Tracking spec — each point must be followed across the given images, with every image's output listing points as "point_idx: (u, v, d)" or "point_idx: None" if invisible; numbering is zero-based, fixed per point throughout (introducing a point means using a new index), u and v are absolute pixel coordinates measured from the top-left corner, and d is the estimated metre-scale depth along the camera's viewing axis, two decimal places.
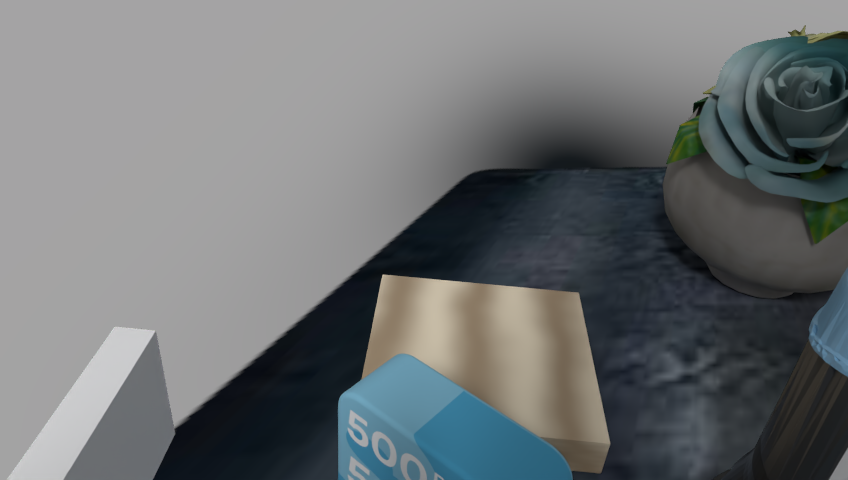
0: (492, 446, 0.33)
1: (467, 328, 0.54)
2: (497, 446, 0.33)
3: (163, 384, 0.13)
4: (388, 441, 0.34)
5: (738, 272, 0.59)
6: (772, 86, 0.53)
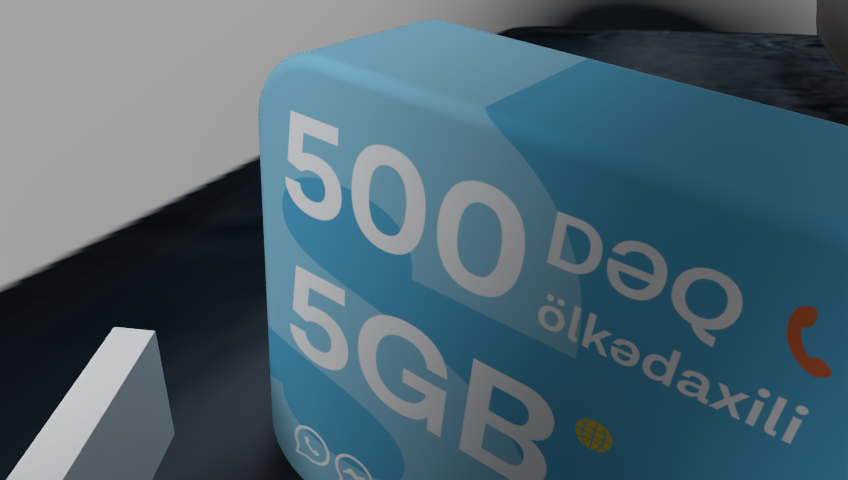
0: (726, 132, 0.11)
1: None
2: (738, 130, 0.11)
3: (163, 384, 0.13)
4: (400, 168, 0.12)
5: None
6: None
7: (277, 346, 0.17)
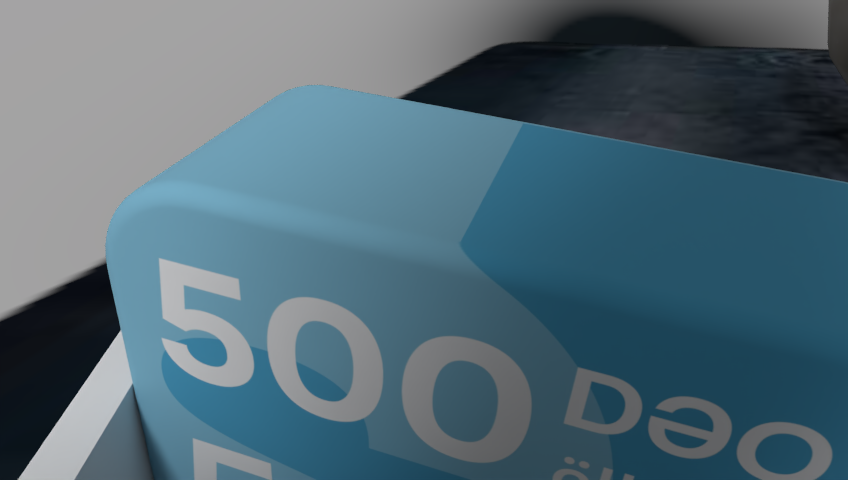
0: (739, 222, 0.09)
1: None
2: (750, 217, 0.09)
3: None
4: (341, 324, 0.09)
5: None
6: None
7: None
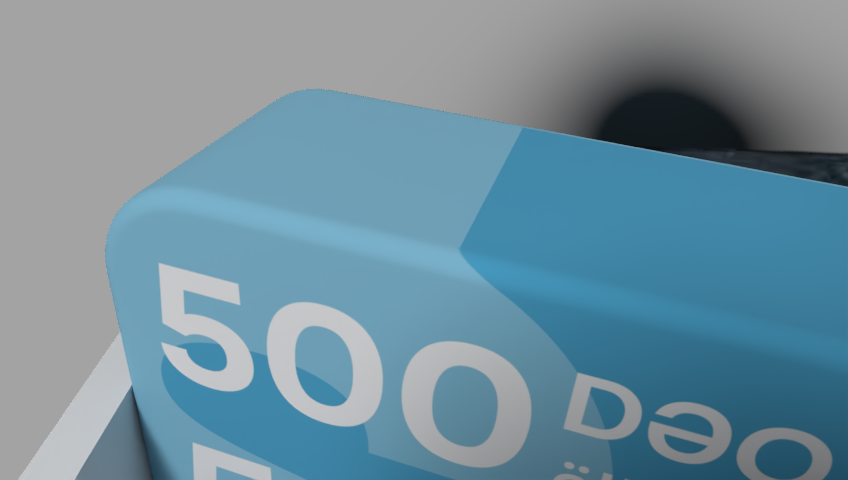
0: (739, 226, 0.09)
1: None
2: (749, 222, 0.09)
3: None
4: (340, 329, 0.09)
5: None
6: None
7: None
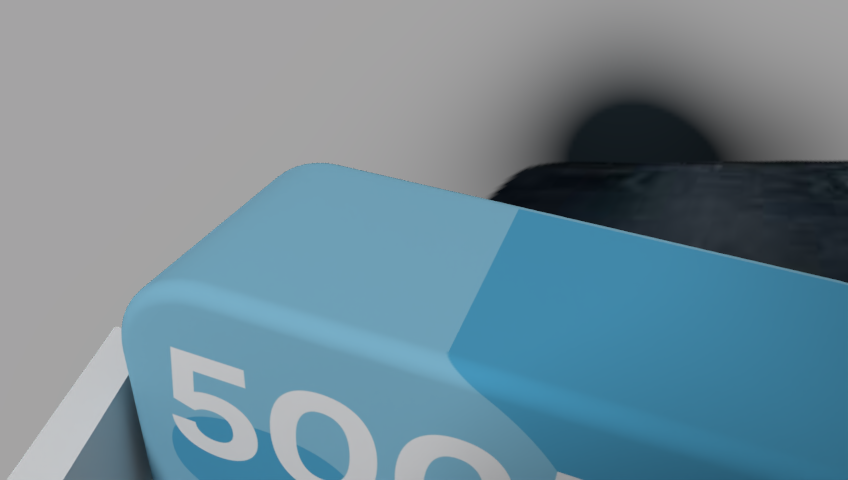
0: (717, 327, 0.09)
1: None
2: (728, 322, 0.09)
3: None
4: (338, 416, 0.09)
5: None
6: None
7: None
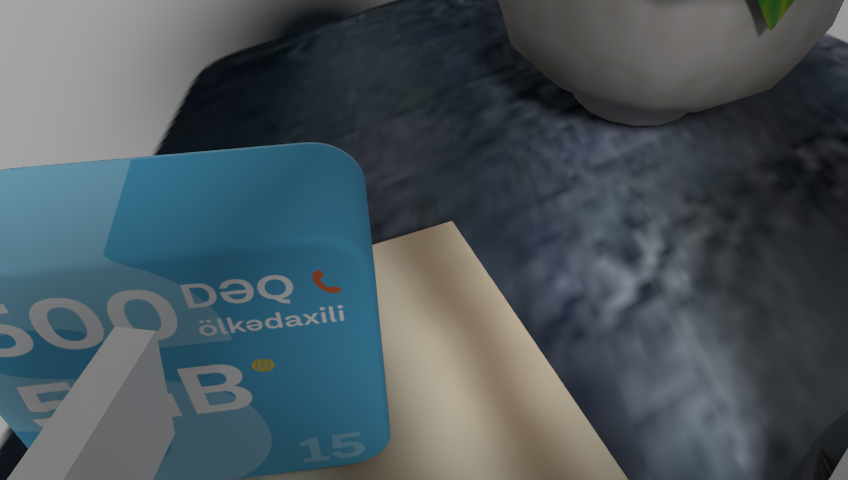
0: (238, 191, 0.19)
1: None
2: (243, 186, 0.19)
3: (163, 383, 0.13)
4: (66, 305, 0.18)
5: (652, 105, 0.39)
6: None
7: (30, 438, 0.22)
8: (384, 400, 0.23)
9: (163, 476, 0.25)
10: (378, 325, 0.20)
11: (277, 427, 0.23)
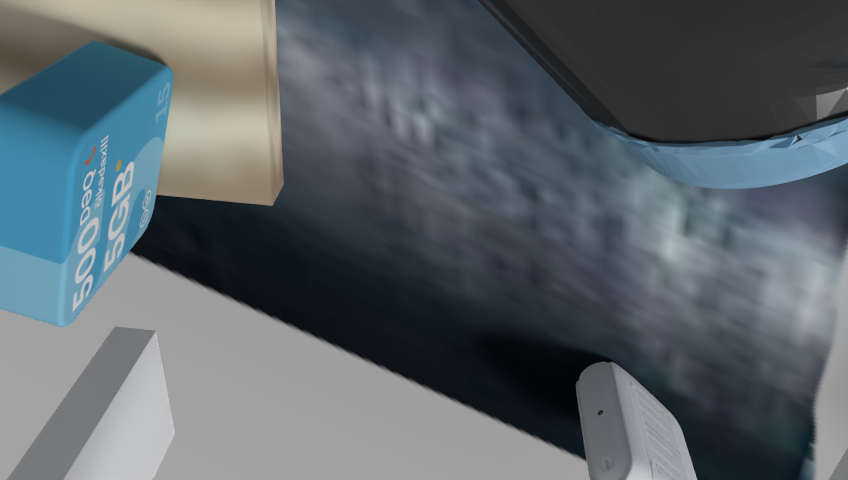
0: (19, 195, 0.31)
1: None
2: (15, 191, 0.31)
3: (163, 384, 0.13)
4: (78, 270, 0.35)
5: None
6: None
7: (123, 255, 0.42)
8: (148, 85, 0.36)
9: (153, 185, 0.43)
10: (112, 111, 0.33)
11: (146, 139, 0.39)
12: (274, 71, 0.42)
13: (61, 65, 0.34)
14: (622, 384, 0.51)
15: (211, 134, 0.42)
